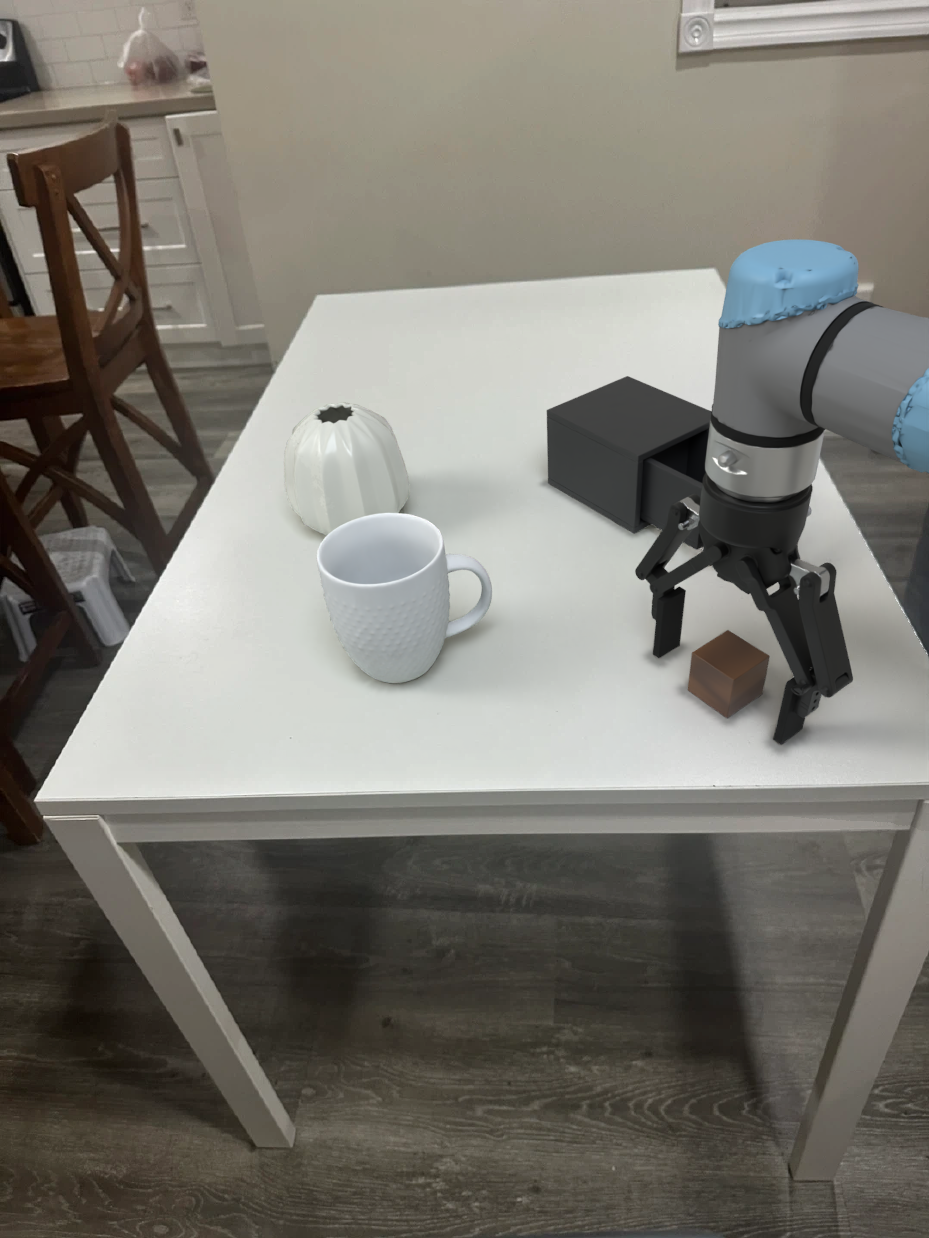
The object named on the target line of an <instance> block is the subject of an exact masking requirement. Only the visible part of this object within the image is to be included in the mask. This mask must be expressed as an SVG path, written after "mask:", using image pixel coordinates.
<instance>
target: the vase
mask: <svg viewBox="0 0 929 1238" xmlns="http://www.w3.org/2000/svg"><path fill="white" fill-rule="evenodd" d="M283 479H284V487H285V493H286V497H287V500H288V503H289V505H290V508H291V510H292V511H293V512H294V513H295V514H297V515H298V516H299V517H300V519H301V521H302V523H303V525H304V526H306V527H308V528H310V529H312V530H314V531H316V532H317V533H320V534H322V535H325V537H326V536H327V535H328V534H329V533H330V532H331V531H333V530H334V529H336V528H337V527H339V526H341V525H343V524H345V523H347V522H349V521H351V520H354V519H357V518H360V517H364V516H368V515H373V514H379V513H400V512H401V509H402V508H404V506H405V504H406V502H407V501H408V499H409V498H410V493H411V492H410V488H411V485H410V479H409V473H408V470H407V467H406V463H405V459H404V457H403V454H402V452H401V448H400V444H399V443H398V440H397V437H396V434H395V431H394V429H393V428H392V425H391V424H390V423H389V420H387V418H385V417H384V416H383V415H380V414H379V413H377V412H375V411H374V410H371V409H369V408H366V407H364V406H362V405H360V404H356V403H350V402H345V401H341V402H338V403H327V404H325V405H323V406H320V407H317V408H315V409H313V410H312V411H310V412H309V413H308V414H307V415H305V416H304V417H303V418H302V419H301V420H300V421H299V422H298V423H297V424H296V425H295V426H294V427H293V428H292V431H291V435H290V437H289V438H288V440H287V442H286V445H285V449H284V453H283Z"/></svg>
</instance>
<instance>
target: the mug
mask: <svg viewBox="0 0 929 1238" xmlns="http://www.w3.org/2000/svg"><path fill="white" fill-rule="evenodd" d="M316 566H317V569H318V570H317V571H318V574H319V579H320V586H321V588H322V593H323V597H324V601H325V605H326V609H327V612H328V614H329V620H330V622H331V623H332V626H333V630H334V632H335V634H336V636H337V638H338V641H339V642H340V644H341V645H342V648H343V649H344V651H345V652H346V653H347V655H348V657H349V658H350V659H351V660H352V661H353V663H354V664H355V665H356V666H357V667H358V668H359V669H360V670H361V671H363V673H365V674H367V675H368V676H369V677H370V678H373V679H374V680H376V681H380V682H384V683H388V684H401V683H402V684H403V683H406V682H410V681H413V680H415V679H417V678H419V677H421V676H423V675H424V674H425V673H427V672H428V671H429V670H430V669H431V667H432V666H433V665H434V663H435V662H436V660H437V659H438V656H439V655H440V653H441V652H442V649H443V646H444V644H445V639H447V638H450V637H454V636H456V635H459V634H460V633H463V632H465V631H467V630H469V629H471V628H472V627H474V626H476V624H478V623H479V622H480V621H481V620H483V618H484V617H485V616H486V614H487V612H488V610H489V608H490V606H491V603H492V598H493V586H492V580H491V577H490V575H489V573H488V571H487V569H486V568H485V567H484V565H483V564H482V563H481V562H480V561H479V560H477V559H476V558H475V557H472V556H470V555H466V554H461V553H446V547H445V540H444V537H443V534H442V532H441V530H440V528H438V527H437V525H435V524H434V523H432V522H431V521H429V520H428V519H426V518H424V517H421V516H418V515H414V514H411V513H401V512H399V513H379V514H373V515H368V516H364V517H360V518H357V519H354V520H351V521H349V522H347V523H345V524H343V525H341V526H339V527H337V528H336V529H334V530H333V531H331V532H330V533H329V534H328V535H327V536H326V535H325V536H324V538H323V540H322V541H320V544H319V545H318V548H317V550H316ZM457 571H469V572H471V573H473V574H475V575H476V577H477V578H478V579H479V582H480V585H481V592H480V597H479V599H478V601H477V603H476V604H475V606H474V607H473V608H472V609H470V610H469V612H467V613H466V614H464V615H462V616H461V617H459V618H457V619H454V620H450V621H449V619H450V609H451V608H450V607H451V606H450V605H451V603H450V596H451V594H450V593H451V592H450V580H449V574H450V573H453V572H457Z"/></svg>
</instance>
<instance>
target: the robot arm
mask: <svg viewBox="0 0 929 1238" xmlns="http://www.w3.org/2000/svg"><path fill="white" fill-rule="evenodd" d="M859 270H860V269H859V262H858V258H857V257H856V256H855V254H853V252H851V251H848V250H845V248H843V246H841V245H839V244H835V243H831V242H827V241H823V240H814V239H799V238H798V239H781V240H773V241H768V242H764V243H761V244H757V245H755V246H753V247H749V248H748V249H746V250H745V251H743V252H742V253H740V254H739V255H738V257H736V258H735V259H734V261H733V262H732V264H731V266H730V269H729V272H728V278H727V282H726V288H725V289H726V290H725V294H724V300H723V304H722V311H721V316H720V317H719V319H718V324H717V325H718V337H717V338H718V339H717V352H716V353H717V354H716V367H715V379H714V390H713V392H714V393H713V401H712V404H711V410H710V411H711V419H710V427H709V436H708V444H707V452H706V461H705V470H706V473H705V475H704V477H703V483H702V491H701V498H700V497H699V496H698V495H697V494H692V495H690V496H688V497H686V498H684V499H682V500H680V501H679V502H677V503H675V504H673V505H671V506H670V508H669V513H668V518H667V523H666V526H665V527H664V529H663V530H661V531H660V533H659V535H658V536H657V537H656V538H655V540H654V542H653V543H652V544H651V546H650V547H649V549H648V550H647V552H646V553H645V555H644V556H643V558H642V559H641V561H640V562H639V563H638V565H637V566H636V568H635V570H634V573H635V576H636V578H637V579H638V580H640V581H644V580H645V581H646V582H647V583H648V584H649V590H650V592H651V594H652V600H651V609H650V610H651V611H650V613H651V618H652V619H653V620H654V621H655V623H654V637H653V645H652V646H653V647H652V655H653V656H654V657H655V658H657V659H660V658H662V657H664V656H666V655H668V654H669V653H671V652H673V650H675V649H677V648H679V647H680V646H681V639H682V638H681V637H682V629H683V619H684V610H685V604H686V603H685V602H686V593H687V589H684V588H683V587H681V586H677V585H679V584H681V583H682V582H684V581H685V580H687V579H689V578H691V577H692V576H695V575H696V574H698V573H699V572H701V571H704V569H707V568H708V567H711V566H712V568H713V570H714V571H715V572H716V573H717V574H716V577H717V578H719V579H721V580H723V581H724V582H728V583H730V584H733V585H734V586H735V587H736V588H738V589H739V590H740V591H741V592H743V593H744V594H746V595H750V596H751V598H752V600H753V603H754V605H755V607H756V609H757V610H758V611H760V612H763V613H764V615H765V616H766V619H767V621H768V623H769V625H770V627H771V630H772V632H773V634H774V636H775V639H776V641H777V643H778V645H779V647H780V650H781V652H782V655H783V656H784V658H785V660H786V662H787V665H788V667H789V669H790V672H791V674H792V677H791V678H789V679H788V680H787V681H786V682H785V685H784V690H783V695H782V699H781V702H780V703H781V704H780V708H779V713H778V716H777V720H776V721H777V722H776V724H775V725H776V726H775V730H774V734H773V741H775V742H776V743H778V744H779V745H783V744H784V743H786V742H787V741H788V740H790V739H791V738H792V737H794V736H795V735H797V734H798V733H799V732H801V731H802V730H803V728H804V725H805V720H806V718H807V717H808V716H809V715H811V714H813V712H815V711H816V710H817V709H818V708H819V706H820V702H821V699H822V696H823V697H825V698H828V699H829V698H830V699H831V698H832V697H833V696H835V695H836V694H837V693H839V692H840V691H842V690H843V689H844V688H846V687H847V686H849V685H850V684H851V683H853V681H854V675H853V671H852V670H853V669H852V667H851V662H850V661H851V660H850V656H849V652H848V647H847V643H846V639H845V635H844V631H843V626H842V621H841V617H840V613H839V608H838V603H837V599H836V594H835V590H836V582H837V575H838V574H837V568H836V566H835V565H834V564H832V563H831V562H828V561H827V562H824V563H822V564H820V565H819V566H817V565H815V564H812V563H810V562H807V561H805V560H802V559H801V555H800V552H799V546H798V545H799V542H800V540H801V539H800V538H801V536H802V534H803V531H804V529H805V527H806V523H807V518H808V517H807V514H808V509H809V506H810V505H811V504H810V503H811V498H812V495H813V482H815V480H816V477H817V472H818V466H819V463H820V456H821V452H822V448H823V442H824V436H825V432H826V431H829V432H831V433H833V434H835V435H838V436H840V437H842V438H844V439H847V440H849V441H851V442H854V443H856V444H857V445H860V446H863V447H865V448H867V449H870V450H872V451H874V452H876V453H878V454H881V455H883V456H886V457H888V458H890V459H892V460H894V461H896V462H898V463H901V464H903V465H905V466H907V467H908V468H909V469H910V470H913V471H914V470H915V471H916V472H919V473H927V474H929V317H927V316H926V317H924V316H920V315H917V314H916V315H915V314H912V313H908V312H903V311H899V310H896V309H892V308H888V307H885V306H882V305H880V304H877V303H874V302H872V301H869V300H866V299H862V298H860V297H858V296H856V295H857V294H858V290H859V289H858V288H859V283H858V278H859ZM697 526H698V532H699V534H700V537H701V539H702V542H703V544H704V547H705V549H706V550H704V551H703V550H702V551H701V552H700V553H697V554H696V555H695V556H693V557H691V558H690V559H688V560H686V561H685V562H684V563H682V564H680V565H679V566H677V567H674V569H672V570H670V571H668V570H667V569H666V568H665V567H666V566H667V565H668V563H669V562H670V561H671V559H672V558H673V557H674V555H675V554H676V553H677V551H679V549H680V548H681V546H682V545H683V542H684V540H685V539H686V538H687V536H688V535H689V534H690V532H691V531H692V530H693V528H695V527H697ZM711 564H712V565H711ZM710 565H711V566H710ZM776 584H778V589H777V590H775V591H774V592H772V593H769V592H768V589H769V588H771V587H773V586H775V585H776ZM676 586H677V587H676Z"/></svg>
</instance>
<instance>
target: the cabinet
mask: <svg viewBox="0 0 929 1238" xmlns="http://www.w3.org/2000/svg"><path fill="white" fill-rule="evenodd" d="M711 411H712V410H709V409H707V408H704V407H702V406H700V405H697V404H695V403H693V402H690V401H688V400H686V399H684V398H681V397H678V396H676V395H674V394H671V393H669V392H667V391H664V390H662V389H659V388H657V387H655V386H652V385H650V384H648V383H646V382H643V381H641V380H638V379H636V378H634V377H631V376H628V375H627V376H624V377H622V378H619V379H616V380H615V381H612V382H610V383H607V384H605V385H602V386H600V387H598V388H595V389H593V390H591V391H588V392H586V393H583V394H581V395H579V396H577V397H574V398H572V399H570V400H567V401H565V402H561V403H560V404H558V405H555V406H553V407H550V408H548V409H546V445H547V446H546V448H547V484H548V485H550V486H552V487H554V488H556V489H557V490H559V491H560V492H562V493H564V494H565V495H568V496H570V498H572V499H574V500H576V501H578V502H579V503H581V504H582V505H584V506H586V507H588V508H589V509H591V510H592V511H594V512H596V513H598V514H600V515H601V516H603V517H605V518H607V519H608V520H610V521H612V522H613V523H615V524H617V525H619V526H620V527H622V528H623V529H626V530H627V531H629V532H631V533H632V534H637V533H638V532H640V531H642V530H644V529H646V528H647V527H649V526H652V524H650V523H648V522H646V521H645V520H643V519H641V518H640V507H641V490H642V473H643V460H644V459H646V458H648V457H650V456H652V455H655V454H657V453H659V452H661V451H663V450H665V449H667V448H669V447H671V446H673V445H675V444H677V443H679V442H682V441H684V440H686V439H688V438H690V437H692V436H694V435H696V434H698V433H700V432H702V431H704V430H706V429H709V427H710V419H711Z"/></svg>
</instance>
